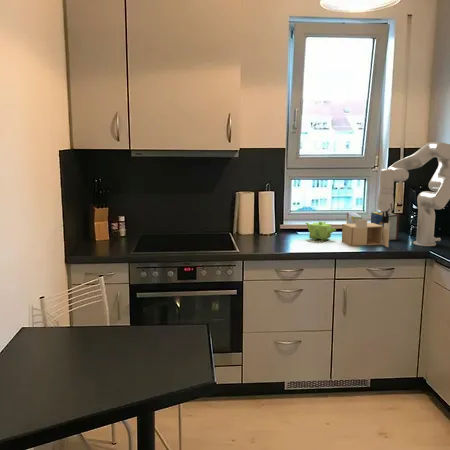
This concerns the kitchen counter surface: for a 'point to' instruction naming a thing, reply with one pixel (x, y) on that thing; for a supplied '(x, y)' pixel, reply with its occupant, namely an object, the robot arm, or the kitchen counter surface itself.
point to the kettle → (320, 231)
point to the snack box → (352, 217)
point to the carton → (372, 234)
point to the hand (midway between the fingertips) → (385, 222)
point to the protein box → (394, 223)
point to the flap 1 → (360, 233)
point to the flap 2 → (386, 234)
